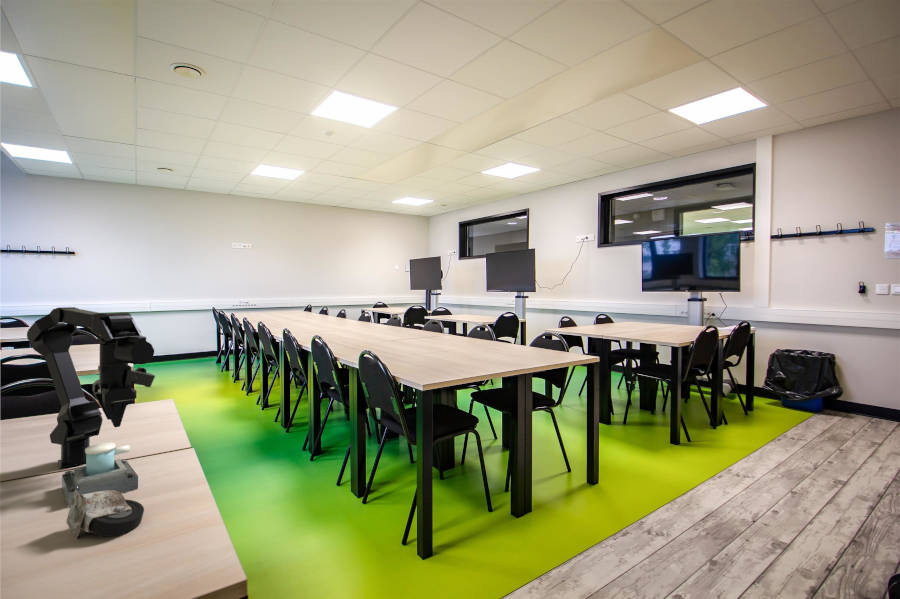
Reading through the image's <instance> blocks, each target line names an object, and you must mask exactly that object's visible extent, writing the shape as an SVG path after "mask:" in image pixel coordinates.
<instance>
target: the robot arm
mask: <svg viewBox="0 0 900 599" xmlns="http://www.w3.org/2000/svg"><path fill="white" fill-rule="evenodd" d="M78 326H79V327H83V328H89V329H90V330H91V332H92V333H94V334H96V335H98V336H99V337H98V338H97V339H95V341H94V342H93V343H94V344H95V345H96V344H97V345H98V344H99V365H98V366H97V371H99V372H98V373H99V378H98V379H96V380H95V381H94V382H93V383H92V392H93V395H94V396H95V398H96V400H97V401H96V400H93V401H89V400H88V399H86V397H85V394H84V391H83V389H82V388H83V387H82V385H81V382H80V379H79V377H78V374H77V371H76V367H75V365H74V363H73V360H72V357H71V353H70V348H71V346H72V343H73V341H74V339H73V335H75V333H76V332H77V330H78ZM26 337H27V340H28V341H29V343H30V345H31V348H32V349H33V351H34V352H37V353H38V354H39V355H41V356H42V357H44V359H45V362H46V365H47V368H48V370H49V373H50V376H51V380H52V382H53V386H54V388H55V391H56V394H57V398H58V400H59V403H60V407H61V408H60V410H59V412H58V414H57V416H56V421H57V425H56V426H55V427H54V429H53V430H52V431H51V433H50V434H49V440H50V443H51V444H56V445H60V459H58V460H57V464H58V467H59V469H65V468H70V467H76V466H78V465H79V466H80V465H83V464H86V453H85V449H86V448H87V447H89V446H91V445H90V442H91V441H90V438H92V437H95V436H96V437H97V436H99V435H100V431H101V428H102V425H103V420H104V419H103V416H102V415H103V414H102V412H103V413H104V415H105V417H106V419H107V420H110V421H111V424H112V426H113V427H114V428H120V427H121V425H122V421H123V418H124V414H125V411H126V408H127V406H128V405H129V404H132V403H133V402H134V401H135V399H137V390H136V389H135V388H133V387H132V385H138V386H144V387H145V388H151V387H152V385H153V382H154V380H155V378H156V375H155V374H152V373H150V372H147V369H146V368H145V367H140V366H138V367H136V368H135V370H134V369H132V366H131V365H130V364H134V365H145V364H148V363H149V362H151V360H152V359H153V357H154V356H155V355H154V354H155V349H154V347H153V345H152V343H151V342H148V341H147V336H143V335H142V331H141V330H140V328H139V327H138V324H137V323H136V321H135V320H134V317H132V314H131V313H130V312H127V311H126V312H124V311H123V312H97V311H91V310H86V309H80V308H78V307H74V306H70V307H69V306H68V307H56V308H53V309H52V310H51V311H50V312H49V313H48V314H47V315H44V316H42V317H41V318H39V319H37V320H35V321H34V322H33V323H32V325H31V326H30V327H29V328H28V330H27V331H26ZM99 406H100V407H101V409H102V412H101V411H100V408H99Z"/></svg>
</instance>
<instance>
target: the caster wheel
mask: <svg viewBox="0 0 900 599" xmlns="http://www.w3.org/2000/svg"><path fill="white" fill-rule="evenodd" d="M144 512H145V508H144V505H142V504H141V503H140V502H138V501H136V500H132V499H126V498H125V497H124V495H123V493H120V492H118V491H114V490H105V491H99V492H94V493H88V494H83V495H79V493H78V491H77V490H76V489H75V492H74V496H73V499H72V503H71V506H70V507H69V510H68V513H67V518H66V521H65V522H66V524H67V526H68V528H69V529H70V531H71V533H72V535H73V537H74V538H75V540H78V537H79V534H80V530H81V529H82V530H83V531H84V532H86V533H93V534H95V535H98V536H104V537H105V536H106V537H114V536H120V535H121V536H122V535H124V534H128V533H130V532H132V531H134V530H135V529H136V528H138V527H139V526H140V524H141V523H142V520H143V516H144Z"/></svg>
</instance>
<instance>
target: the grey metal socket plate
mask: <svg viewBox="0 0 900 599" xmlns="http://www.w3.org/2000/svg"><path fill="white" fill-rule="evenodd" d="M61 488H62V492H63V495H64V498H65V500H66V503H67V507H68V508H70V506H71V503H72V499H73V496H74V492H75V489H76V490H77V491H78V493H79V495H83V494H88V493H94V492H99V491H105V490H114V491H118V492H120V493H121V494H123V493H127V492H130V491H135V490H138V489H139V475H138V474H137V473H136V471H135V470H134V469H133V466H131V465H130V463H129V462H128V460H126V459H124V458H123V459H121V458H117V459H114V470H113V471H108V472H104V473H100V474H95V475H91V476H87V477H86V465H85V466H79V467H75V468H73V470H68V471H65V472H64V473H63V474H61Z"/></svg>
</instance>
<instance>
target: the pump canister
mask: <svg viewBox="0 0 900 599" xmlns="http://www.w3.org/2000/svg"><path fill="white" fill-rule="evenodd" d="M130 448H131V447H130V445H129V444H127V445H121V446H117V447H116V443H115V442H101V443H95V444H93V445H92V444H91V445H90V446H89V447H87V448H86V449H85V453H86V463H85V466H86V477H87V476H91V475H95V474H100V473H104V472H108V471H113V470H114V460H115V455H120V454H125V453H129V452H130V450H131V449H130Z"/></svg>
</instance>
